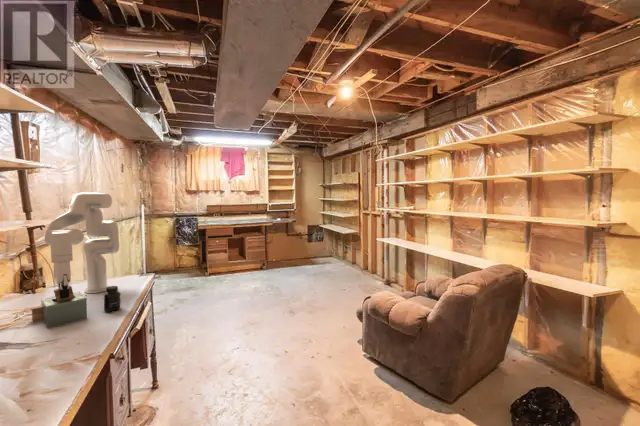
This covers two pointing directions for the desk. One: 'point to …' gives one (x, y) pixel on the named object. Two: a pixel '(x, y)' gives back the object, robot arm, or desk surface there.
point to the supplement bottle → (111, 299)
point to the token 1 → (37, 313)
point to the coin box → (63, 310)
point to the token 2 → (57, 294)
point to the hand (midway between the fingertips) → (63, 296)
